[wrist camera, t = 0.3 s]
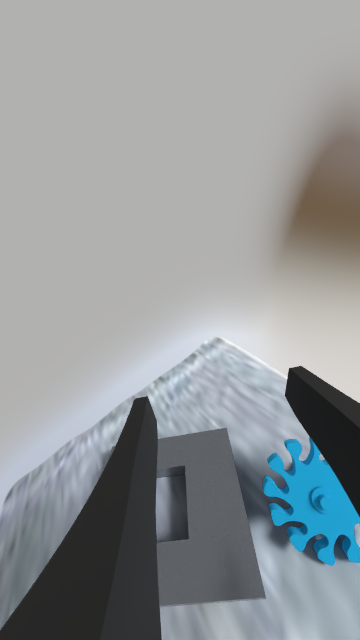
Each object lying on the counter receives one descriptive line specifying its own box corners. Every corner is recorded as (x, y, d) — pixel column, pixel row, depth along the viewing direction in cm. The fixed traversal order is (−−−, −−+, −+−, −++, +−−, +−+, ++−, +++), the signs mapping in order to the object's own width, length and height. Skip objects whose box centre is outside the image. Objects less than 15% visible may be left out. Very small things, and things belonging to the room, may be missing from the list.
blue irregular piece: (265, 555, 18) (264, 433, 19) (254, 505, 23) (254, 414, 25) (420, 594, 15) (406, 452, 17) (366, 528, 21) (358, 426, 22)
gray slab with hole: (265, 598, 17) (265, 597, 15) (89, 612, 18) (74, 612, 17) (228, 437, 28) (226, 427, 26) (119, 454, 29) (112, 446, 28)
